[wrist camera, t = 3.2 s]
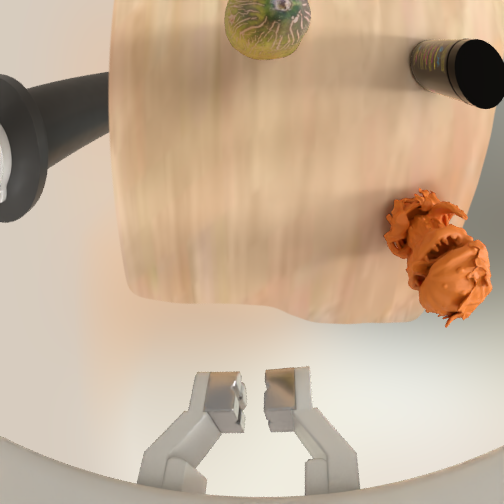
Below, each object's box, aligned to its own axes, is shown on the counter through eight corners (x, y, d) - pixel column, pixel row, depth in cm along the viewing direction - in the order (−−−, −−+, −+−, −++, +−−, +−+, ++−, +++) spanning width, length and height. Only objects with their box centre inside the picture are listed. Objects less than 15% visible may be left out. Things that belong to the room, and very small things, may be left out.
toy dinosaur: (391, 168, 35) (463, 250, 20) (456, 191, 35) (532, 271, 20) (362, 243, 41) (401, 347, 26) (425, 257, 41) (475, 350, 27)
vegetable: (257, 72, 30) (241, 80, 13) (226, 28, 27) (170, -13, 10) (306, 46, 28) (351, 23, 11) (274, 1, 25) (278, -71, 8)
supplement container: (408, 90, 29) (454, 104, 20) (405, 36, 25) (452, 31, 17) (455, 95, 28) (506, 113, 20) (453, 44, 25) (506, 47, 16)
